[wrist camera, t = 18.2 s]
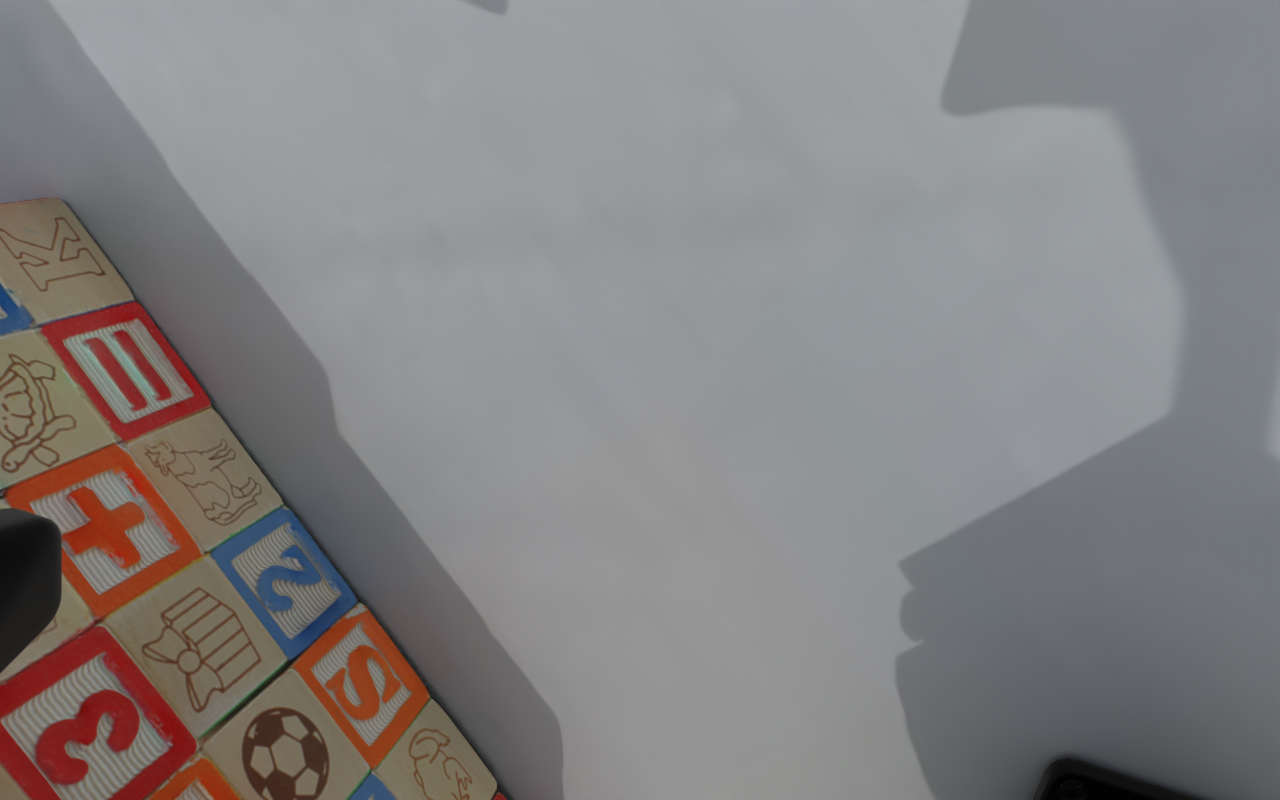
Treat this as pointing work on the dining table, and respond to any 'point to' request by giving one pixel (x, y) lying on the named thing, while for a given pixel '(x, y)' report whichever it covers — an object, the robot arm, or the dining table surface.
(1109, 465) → the dining table surface
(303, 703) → the stack of blocks
